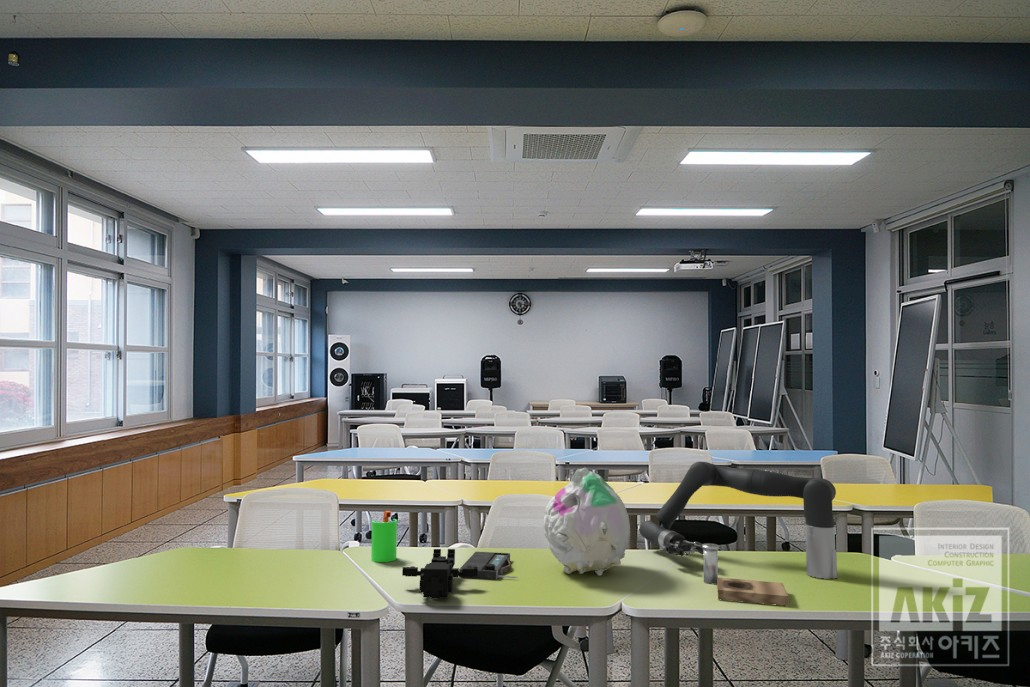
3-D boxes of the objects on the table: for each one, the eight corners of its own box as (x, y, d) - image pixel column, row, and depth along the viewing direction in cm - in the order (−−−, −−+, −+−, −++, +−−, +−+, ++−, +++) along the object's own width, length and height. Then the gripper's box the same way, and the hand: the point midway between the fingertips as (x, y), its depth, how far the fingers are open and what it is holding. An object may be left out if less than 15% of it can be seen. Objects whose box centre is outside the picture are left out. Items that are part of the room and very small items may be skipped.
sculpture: (546, 595, 220) (632, 577, 211) (517, 486, 226) (600, 465, 217) (572, 570, 251) (648, 554, 242) (546, 475, 257) (619, 456, 248)
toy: (479, 549, 226) (475, 566, 196) (479, 578, 225) (475, 599, 195) (409, 548, 226) (394, 565, 196) (408, 577, 224) (393, 599, 195)
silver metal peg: (719, 580, 223) (718, 544, 224) (719, 585, 218) (719, 547, 219) (702, 579, 225) (702, 543, 225) (702, 583, 219) (702, 546, 220)
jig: (783, 592, 210) (782, 582, 211) (788, 606, 197) (788, 596, 197) (717, 586, 216) (717, 577, 216) (718, 599, 202) (718, 589, 203)
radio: (475, 548, 248) (528, 550, 245) (475, 559, 248) (528, 562, 245) (459, 565, 224) (517, 569, 220) (458, 578, 223) (517, 582, 220)
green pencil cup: (389, 555, 251) (390, 507, 253) (401, 559, 245) (402, 510, 247) (368, 559, 245) (369, 510, 246) (379, 563, 239) (380, 513, 240)
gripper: (654, 532, 247) (675, 542, 231) (689, 531, 250) (712, 540, 234) (654, 553, 246) (675, 564, 230) (689, 551, 250) (712, 562, 234)
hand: (693, 552), depth 232 cm, fingers open, 8 cm apart
